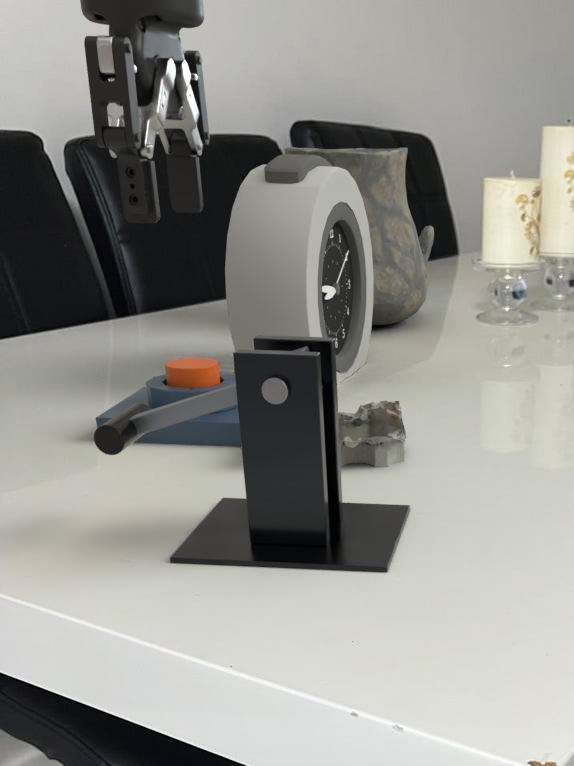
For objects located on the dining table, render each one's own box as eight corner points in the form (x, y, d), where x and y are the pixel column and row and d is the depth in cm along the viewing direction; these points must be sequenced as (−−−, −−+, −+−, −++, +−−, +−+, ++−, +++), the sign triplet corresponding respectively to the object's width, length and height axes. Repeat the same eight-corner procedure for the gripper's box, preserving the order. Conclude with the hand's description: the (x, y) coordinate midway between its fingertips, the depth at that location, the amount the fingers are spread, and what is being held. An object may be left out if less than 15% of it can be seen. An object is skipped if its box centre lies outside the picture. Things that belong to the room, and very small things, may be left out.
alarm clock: (312, 403, 89) (298, 158, 80) (233, 397, 91) (211, 156, 81) (376, 356, 108) (370, 153, 99) (310, 352, 109) (299, 151, 100)
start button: (159, 390, 76) (156, 367, 75) (177, 379, 79) (174, 356, 78) (211, 392, 75) (209, 369, 75) (226, 380, 79) (224, 358, 78)
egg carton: (406, 452, 77) (406, 399, 75) (406, 482, 70) (406, 425, 68) (267, 450, 76) (263, 397, 74) (253, 481, 70) (249, 423, 68)
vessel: (261, 339, 115) (245, 146, 106) (271, 308, 134) (259, 143, 125) (448, 338, 118) (448, 150, 108) (432, 308, 137) (431, 146, 128)
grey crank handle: (104, 465, 55) (84, 423, 54) (138, 439, 59) (120, 401, 58) (309, 403, 52) (292, 359, 51) (328, 382, 57) (313, 340, 56)
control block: (100, 452, 75) (91, 393, 73) (148, 418, 84) (141, 364, 82) (258, 459, 74) (252, 399, 72) (289, 423, 83) (285, 369, 81)
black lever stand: (171, 577, 55) (142, 360, 49) (224, 515, 64) (204, 324, 58) (387, 587, 54) (382, 368, 49) (410, 522, 63) (408, 331, 58)
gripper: (122, -48, 68) (152, 208, 76) (19, -88, 56) (68, 224, 63) (229, -46, 68) (249, 211, 75) (150, -86, 55) (183, 228, 63)
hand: (166, 217), depth 69 cm, fingers open, 8 cm apart
